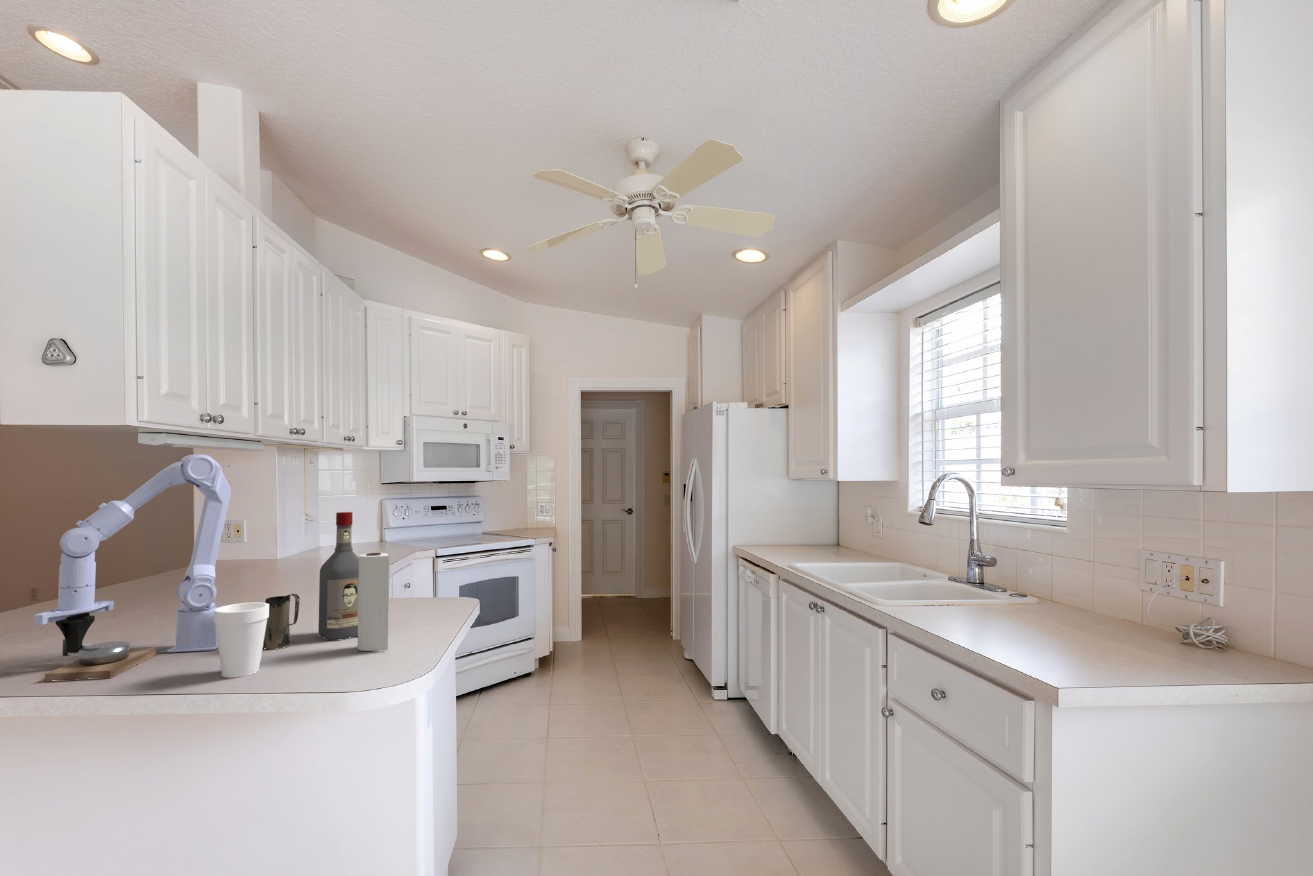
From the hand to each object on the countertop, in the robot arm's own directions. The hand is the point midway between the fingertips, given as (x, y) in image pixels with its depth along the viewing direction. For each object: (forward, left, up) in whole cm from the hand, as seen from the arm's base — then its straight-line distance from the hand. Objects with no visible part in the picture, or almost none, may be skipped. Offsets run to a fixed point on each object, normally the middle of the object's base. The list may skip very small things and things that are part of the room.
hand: (74, 652), depth 135 cm
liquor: (-47, -16, -3) cm, 50 cm away
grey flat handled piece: (-3, 0, -1) cm, 4 cm away
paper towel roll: (-58, -2, -3) cm, 58 cm away
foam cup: (-35, +11, -3) cm, 37 cm away
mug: (-36, -8, -3) cm, 38 cm away
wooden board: (-7, +2, -3) cm, 7 cm away
